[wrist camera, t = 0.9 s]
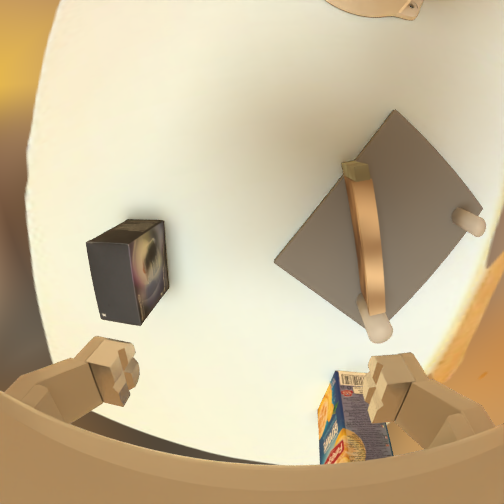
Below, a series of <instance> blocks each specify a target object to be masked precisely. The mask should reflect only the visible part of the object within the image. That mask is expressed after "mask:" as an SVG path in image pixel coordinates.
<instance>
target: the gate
mask: <svg viewBox="0 0 504 504" xmlns="http://www.w3.org/2000/svg"><path fill="white" fill-rule="evenodd" d="M341 164H342V169H343V174H344V179H345V184H346V190H347V195H348V201H349V206H350V212H351V218H352V225H353V231H354V238H355V245H356V253H357V260H358V269H359V278H360V287H361V292H362V295H363V297H364V299H365V301H366V304H367V307H368V313H369V316H372V315H377V314H381V313H385V312H386V308H385V286H384V271H383V259H382V248H381V238H380V230H379V221H378V214H377V207H376V200H375V193H374V187H373V181H372V179H371V178H370V172H369V167H368V164H365V163H361V162H357V161H349V162H343V163H341Z"/></svg>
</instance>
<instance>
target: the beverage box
mask: <svg viewBox="0 0 504 504" xmlns="http://www.w3.org/2000/svg"><path fill="white" fill-rule="evenodd" d="M366 374H367V373H357V372H345V371H335V373H334V375H333V377H332V380H331V382H330V384H329V387H328V389H327V391H326V393H325V395H324V398H323V400H322V402H321V404H320V406H319V408H318V427H319V449H320V465H323V464H337V463H348V462H358V461H366V460H373V459H380V458H386V457H392V456H393V451H392V447H391V442H390V438H389V434H388V430H387V426H386V422H385V423H374V424H372V423H371V420H370V416H369V413H368V407H369V404H368V403H367V402H365V400H364V397H363V381H364V377H365V375H366Z"/></svg>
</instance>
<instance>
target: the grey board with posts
mask: <svg viewBox="0 0 504 504" xmlns="http://www.w3.org/2000/svg"><path fill="white" fill-rule="evenodd" d="M354 161H357V162H361V163H365V164H368V167H369V172H370V178H371V179H372V181H373V187H374V193H375V200H376V207H377V214H378V221H379V230H380V238H381V248H382V259H383V271H384V286H385V308H386V312H385V313H381V314H377V315H372V316H369V313H368V307H367V304H366V301H365V299H364V297H363V295H362V292H361V287H360V278H359V269H358V260H357V253H356V245H355V238H354V231H353V225H352V218H351V212H350V206H349V201H348V195H347V190H346V184H345V179H344V174H343V176H342V177H341V178H340V179H339V181H338V182H337V183H336V184H335V186H334V187H333V188H332V189H331V191H330V192H329V193H328V194H327V196H326V197H325V198H324V199H323V201H322V202H321V203H320V204H319V206H318V207H317V208H316V209H315V211H314V212H313V213H312V214H311V216H310V217H309V218H308V219H307V221H306V222H305V223H304V224H303V225H302V227H301V228H300V229H299V230H298V232H297V233H296V234H295V235H294V237H293V238H292V239H291V240H290V241H289V243H288V244H287V245H286V246H285V248H284V249H283V250H282V251H281V252H280V254H279V255H278V256H277V257H276V258H275V260H274V263H275V264H276V265H278V266H279V267H281V268H282V269H283V270H285V271H286V272H288V273H289V274H290V275H292V276H293V277H295V278H296V279H297V280H299V281H300V282H301V283H303V284H304V285H306V286H307V287H308V288H310V289H311V290H313V291H314V292H315V293H317V294H318V295H320V296H321V297H322V298H324V299H325V300H326V301H328V302H329V303H331V304H332V305H333V306H335V307H336V308H337V309H339V310H340V311H342V312H343V313H344V314H346V315H347V316H349V317H350V318H351V319H353V320H354V321H355V322H357V323H358V324H360V325H361V326H362V327H364V328H365V329H366V331H367V333H368V336H369V339H370V340H371V341H372V342H373V343H383V342H385V341H387V340H388V339H389V338H390V337H391V335H392V333H393V328H392V326H391V324H390V322H389V320H390V319H391V318H392V317H393V316H394V315H395V314H396V313H397V312H398V311H399V310H400V309H401V308H402V307H403V306H404V305H405V304H406V303H407V302H408V301H409V300H410V299H411V297H412V296H413V295H414V294H415V293H416V292H417V291H418V290H419V289H420V288H421V287H422V285H423V284H424V283H425V282H426V281H427V280H428V279H429V278H430V276H431V275H432V274H433V273H434V272H435V271H436V269H437V268H438V267H439V266H440V265H441V263H442V262H443V261H444V260H445V259H446V257H447V256H448V255H449V254H450V252H451V251H452V250H453V249H454V247H455V246H456V245H457V244H458V242H459V241H460V240H461V238H462V237H463V236H464V234H465V233H466V232H469V233H471V234H472V235H474V236H476V237H480V236H482V235H483V233H484V232H485V229H486V223H485V221H484V219H482V218H481V217H478V215H479V214H480V212H481V211H482V209H483V208H482V206H481V205H480V203H479V202H478V201H477V199H476V198H475V197H474V195H473V194H472V193H471V191H470V190H469V189H468V187H467V186H466V185H465V184H464V182H463V181H462V180H461V179H460V177H459V176H458V175H457V174H456V172H455V171H454V170H453V169H452V168H451V166H450V165H449V164H448V163H447V162H446V161H445V159H444V158H443V157H442V156H441V155H440V154H439V153H438V152H437V150H436V149H435V148H434V147H433V146H432V145H431V144H430V143H429V142H428V141H427V140H426V139H425V138H424V137H423V136H422V135H421V133H420V132H419V131H418V130H417V129H416V128H415V127H414V126H413V125H412V124H410V123H409V122H408V121H407V120H406V119H405V118H404V117H403V116H402V115H401V114H400V113H399V112H398V111H397V110H393V111H392V112H391V114H390V115H389V116H388V118H387V119H386V120H385V122H384V123H383V124H382V125H381V127H380V128H379V129H378V131H377V132H376V133H375V135H374V136H373V137H372V138H371V140H370V141H369V142H368V144H367V145H366V146H365V147H364V149H363V150H362V151H361V153H360V154H359V155H358V156H357V158H356V159H355V160H354Z"/></svg>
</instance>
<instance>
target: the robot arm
mask: <svg viewBox="0 0 504 504" xmlns="http://www.w3.org/2000/svg"><path fill="white" fill-rule="evenodd" d="M326 1H327V2H329V3H330V4H332V5H334V6H336V7H338V8H340V9H342V10H344V11H347V12H350V13H353V14H356V15H361V16H366V17H385V16H396V17H399V18H403V19H407V20H414V19H415V18H416V17H417V15H418V13H419V10H420V8H421V5H422V2H423V0H326ZM409 5H410V6H412V8H411V7H410V6H409ZM135 353H136V352H135V348H134V345H133V344H132V343H130V342H124V341H119V340H114V339H110V338H104V337H99V336H96V337H93V338H92V340H91V341H90V342H89V343H88V344H87V345H86V346H85V347H84V348H83V349H82V350H81V351H80V352H79V353H78V354H77V355H76V357H75V358H74V359H73V358H69V359H66V360H63V361H60V362H58V363H55V364H52V365H50V366H47V367H44V368H42V369H39V370H36V371H33V372H30V373H27V374H24V375H21V376H20V377H19V378H18V379H17V380H16V381H15V382H14V383H13V384H12V385H11V386H10V387H9V388H8V389H7V390H6V391H5V392H2V391H0V504H504V424H501V425H499V426H497V427H495V425H494V424H493V422H492V421H491V419H490V417H489V416H488V414H487V413H486V411H485V410H484V408H483V407H482V405H480V404H478V403H476V402H474V401H472V400H470V399H468V398H467V397H465V396H463V395H461V394H459V393H457V392H455V391H454V390H452V389H450V388H448V387H446V386H444V385H442V384H441V383H439V382H437V381H435V380H433V379H431V380H429V379H428V377H427V375H426V374H425V372H424V370H423V369H422V367H421V366H420V364H419V362H418V361H417V359H416V358H415V356H414V354H413V353H411V352H409V353H401V354H395V355H382V356H371V358H370V360H369V363H368V368H369V370H370V371H369V372H368V373H367V374H366V375H365V377H364V381H363V397H364V400H365V402H367V403H368V404H369V407H368V413H369V416H370V420H371V423H372V424H374V423H385V422H394V421H395V423H396V424H397V425H398V426H399V427H400V428H401V429H402V430H403V431H405V432H406V433H407V434H408V435H409V436H410V437H411V438H412V439H413V440H415V441H416V442H417V443H418V444H419V445H420V446H421V447H423V448H424V449H425V450H421V451H417V452H412V453H407V454H403V455H398V456H392V457H386V458H380V459H373V460H366V461H358V462H348V463H337V464H323V465H255V464H241V463H230V462H221V461H212V460H204V459H198V458H192V457H186V456H180V455H174V454H170V453H165V452H160V451H156V450H151V449H147V448H143V447H139V446H135V445H132V444H128V443H124V442H121V441H117V440H114V439H111V438H108V437H105V436H102V435H99V434H96V433H93V432H90V431H87V430H84V429H81V428H79V427H76V426H74V425H71V424H70V423H72V422H74V421H75V420H77V419H78V418H80V417H82V416H83V415H85V414H87V413H88V412H90V411H91V410H93V409H95V408H96V407H98V406H99V405H101V404H102V403H103V402H105V403H109V404H113V405H117V406H122V407H124V405H125V403H126V401H127V400H128V398H129V396H130V392H129V390H130V389H132V388H134V387H135V386H136V384H137V382H138V379H139V375H140V373H139V365H138V362H137V361H136V360H135V359H134V358H133V356H134V355H135Z"/></svg>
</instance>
